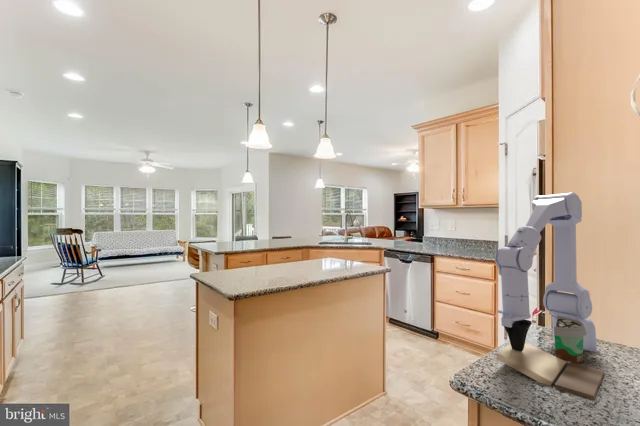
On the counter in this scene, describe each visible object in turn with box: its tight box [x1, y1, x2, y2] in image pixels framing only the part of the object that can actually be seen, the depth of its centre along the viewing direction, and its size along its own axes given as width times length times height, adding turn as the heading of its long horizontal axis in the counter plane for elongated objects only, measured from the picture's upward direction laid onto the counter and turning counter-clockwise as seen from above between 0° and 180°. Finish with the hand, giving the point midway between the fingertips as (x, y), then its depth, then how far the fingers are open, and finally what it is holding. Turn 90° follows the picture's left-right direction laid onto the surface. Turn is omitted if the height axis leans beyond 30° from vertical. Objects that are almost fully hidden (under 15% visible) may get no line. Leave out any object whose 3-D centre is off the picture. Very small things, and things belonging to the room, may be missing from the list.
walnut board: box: [554, 362, 605, 401], centre depth 68 cm, size 15×6×2 cm, turn 131°
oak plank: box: [495, 341, 567, 386], centre depth 75 cm, size 11×14×2 cm
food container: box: [554, 316, 587, 365], centre depth 79 cm, size 12×6×10 cm, turn 139°
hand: (517, 349), depth 77 cm, fingers closed, pressing on oak plank
